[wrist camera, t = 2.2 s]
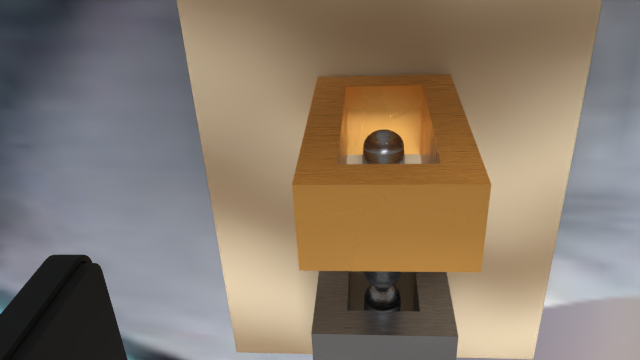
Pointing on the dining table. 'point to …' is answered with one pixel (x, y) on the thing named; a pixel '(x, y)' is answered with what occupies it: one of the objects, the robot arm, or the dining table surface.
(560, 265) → the dining table surface
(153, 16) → the dining table surface
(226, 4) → the board
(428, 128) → the block with bead chain
